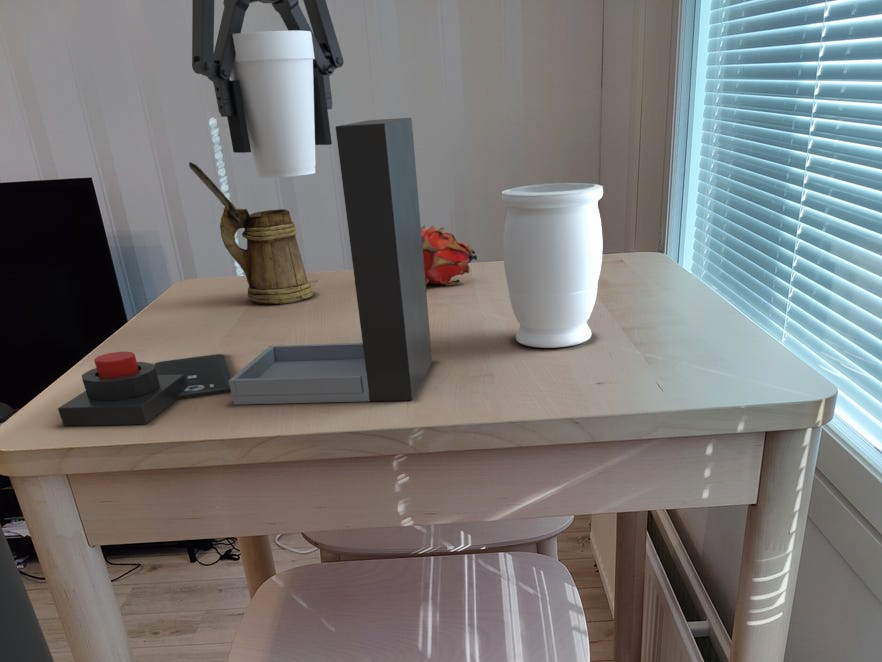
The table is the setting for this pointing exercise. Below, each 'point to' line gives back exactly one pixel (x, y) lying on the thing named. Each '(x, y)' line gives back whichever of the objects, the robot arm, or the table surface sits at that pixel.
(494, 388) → the table surface
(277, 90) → the foam cup
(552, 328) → the jar
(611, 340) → the table surface
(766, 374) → the table surface
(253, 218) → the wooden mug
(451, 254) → the dragon fruit
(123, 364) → the button
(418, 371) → the coffee maker
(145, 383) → the panel
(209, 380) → the smartphone
